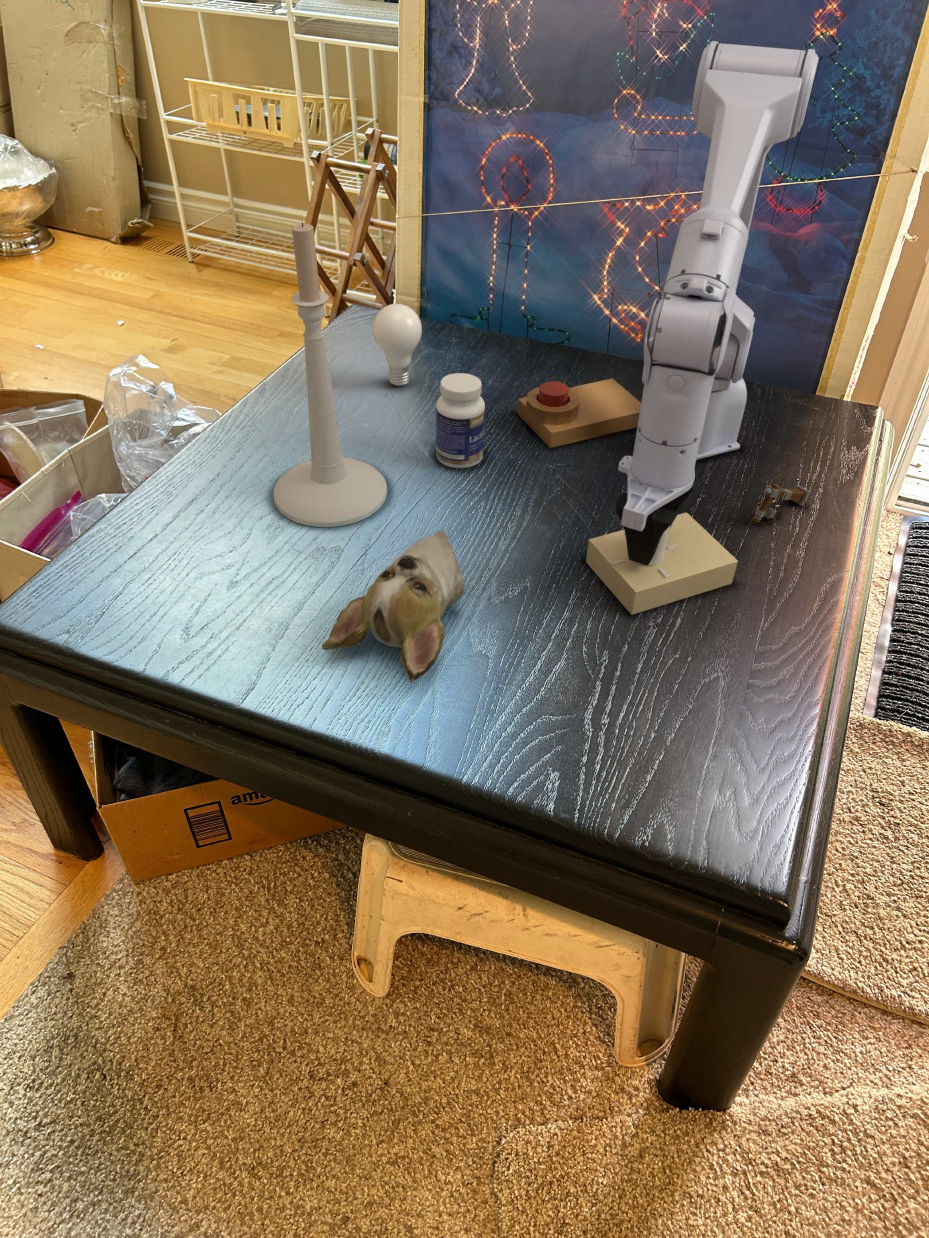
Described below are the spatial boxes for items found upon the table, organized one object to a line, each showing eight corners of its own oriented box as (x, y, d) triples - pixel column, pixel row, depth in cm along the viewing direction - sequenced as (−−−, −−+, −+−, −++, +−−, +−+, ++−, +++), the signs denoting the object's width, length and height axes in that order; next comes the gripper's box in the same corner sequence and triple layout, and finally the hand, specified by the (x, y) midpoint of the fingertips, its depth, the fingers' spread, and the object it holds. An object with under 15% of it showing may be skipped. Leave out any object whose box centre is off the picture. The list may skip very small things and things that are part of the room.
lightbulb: (421, 396, 119) (420, 317, 112) (374, 396, 119) (369, 316, 112) (424, 374, 124) (422, 296, 117) (378, 373, 124) (373, 295, 117)
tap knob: (633, 539, 92) (640, 501, 89) (668, 549, 91) (676, 510, 88) (623, 559, 90) (629, 520, 87) (658, 569, 89) (666, 530, 85)
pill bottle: (478, 473, 106) (480, 397, 100) (431, 467, 107) (430, 391, 100) (487, 447, 110) (490, 372, 104) (441, 442, 111) (441, 367, 104)
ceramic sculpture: (492, 531, 83) (414, 638, 74) (492, 599, 89) (420, 705, 80) (392, 501, 87) (306, 599, 77) (399, 568, 93) (319, 666, 84)
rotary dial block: (681, 534, 98) (686, 510, 96) (731, 583, 92) (738, 559, 90) (585, 562, 94) (588, 537, 92) (631, 615, 88) (635, 590, 86)
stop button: (558, 391, 114) (559, 379, 112) (572, 405, 111) (574, 392, 110) (533, 397, 112) (534, 384, 111) (546, 410, 110) (548, 397, 109)
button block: (610, 393, 121) (614, 365, 118) (647, 425, 115) (651, 397, 112) (511, 415, 116) (513, 386, 114) (544, 449, 110) (547, 420, 108)
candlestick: (326, 451, 109) (298, 189, 89) (409, 486, 104) (400, 217, 84) (250, 500, 102) (200, 226, 81) (335, 541, 96) (305, 259, 76)
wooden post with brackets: (743, 517, 99) (763, 480, 97) (778, 518, 104) (798, 482, 102) (756, 525, 98) (777, 488, 96) (791, 525, 103) (811, 490, 101)
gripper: (654, 384, 87) (634, 500, 96) (597, 456, 77) (581, 577, 87) (726, 403, 84) (698, 520, 94) (675, 478, 75) (651, 600, 84)
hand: (646, 549), depth 90 cm, fingers closed on tap knob, 3 cm apart
